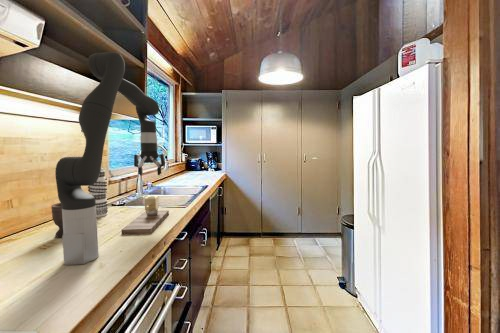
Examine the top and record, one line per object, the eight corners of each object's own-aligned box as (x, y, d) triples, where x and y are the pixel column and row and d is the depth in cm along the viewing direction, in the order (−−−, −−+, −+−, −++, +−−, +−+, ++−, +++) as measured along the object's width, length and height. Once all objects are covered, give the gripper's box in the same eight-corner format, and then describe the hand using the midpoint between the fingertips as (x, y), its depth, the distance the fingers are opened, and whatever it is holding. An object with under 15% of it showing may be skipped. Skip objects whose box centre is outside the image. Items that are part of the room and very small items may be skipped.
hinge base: (151, 233, 113) (150, 207, 112) (121, 234, 112) (120, 208, 111) (168, 214, 145) (168, 193, 144) (145, 214, 144) (145, 194, 143)
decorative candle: (92, 213, 147) (89, 167, 145) (110, 212, 150) (108, 167, 148) (86, 217, 139) (83, 169, 137) (106, 216, 141) (103, 168, 139)
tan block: (148, 207, 137) (147, 196, 137) (158, 207, 138) (158, 196, 137) (141, 213, 126) (140, 200, 126) (152, 213, 127) (151, 200, 126)
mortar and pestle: (90, 231, 116) (87, 185, 115) (79, 238, 108) (76, 188, 106) (61, 232, 115) (58, 186, 114) (48, 239, 107) (44, 189, 105)
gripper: (131, 142, 128) (132, 176, 129) (161, 141, 129) (162, 175, 130) (136, 142, 135) (137, 174, 137) (165, 142, 136) (166, 174, 138)
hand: (150, 175), depth 133 cm, fingers open, 8 cm apart
